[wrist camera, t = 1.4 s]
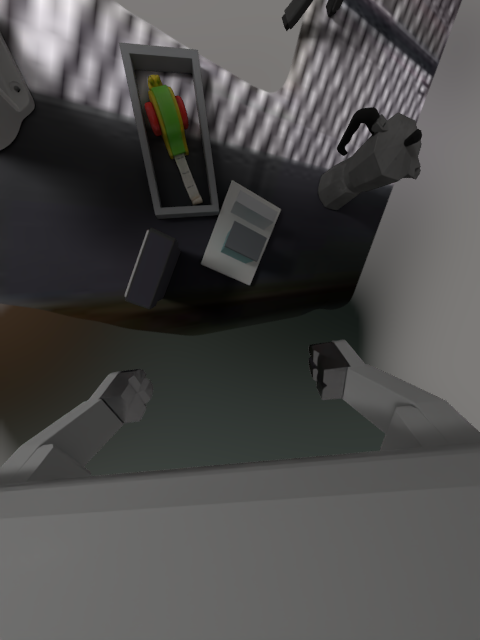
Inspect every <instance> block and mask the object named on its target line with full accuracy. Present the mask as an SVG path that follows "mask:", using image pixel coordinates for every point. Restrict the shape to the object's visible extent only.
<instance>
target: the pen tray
mask: <svg viewBox="0 0 480 640" xmlns="http://www.w3.org/2000/svg"><path fill="white" fill-rule="evenodd" d="M119 44H120V49H121V54H122V59H123V64H124V68H125V73H126V78H127V83H128V87H129V92H130V97H131V102H132V106H133V111H134V116H135V121H136V125H137V130H138V135H139V140H140V145H141V149H142V154H143V159H144V164H145V168H146V173H147V178H148V183H149V187H150V192H151V197H152V202H153V207H154V211H155V215H156V217H157V218H158V219H167V218H182V217H197V216H212V215H218V214H219V205H218V197H217V190H216V182H215V175H214V167H213V160H212V152H211V145H210V138H209V130H208V123H207V115H206V108H205V100H204V93H203V85H202V78H201V70H200V63H199V55H198V50H193V49H182V48H171V47H161V46H150V45H139V44H129V43H119ZM134 70H147V71H161V72H176V73H190V74H192V75H193V82H194V89H195V96H196V103H197V110H198V117H199V124H200V131H201V138H202V145H203V152H204V159H205V166H206V173H207V180H208V187H209V194H210V201H211V205H202V206H184V207H166V208H162V206H161V201H160V196H159V191H158V186H157V181H156V176H155V171H154V166H153V161H152V156H151V151H150V146H149V141H148V136H147V131H146V126H145V121H144V116H143V111H142V106H141V101H140V96H139V91H138V86H137V81H136V76H135V71H134Z"/></svg>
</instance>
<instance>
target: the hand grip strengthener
mask: <svg viewBox="0 0 480 640" xmlns="http://www.w3.org/2000/svg"><path fill="white" fill-rule="evenodd" d="M312 1H313V0H293V1H292V2H291V3H290V4H289V6H288V7H287V8H286V9H285V14H284V15H283V17H282V20H283V23H284V27H285V29H286V31H287V30H288V29H289V28H290V29H292V28H293V26H294V25H295V24H296V23H297V22H298V20H299V19H300V18H301V16H302V15H303V14H304V12H305V11H306V10H307V8H308V7H309V6H310V4H311V3H312ZM342 2H343V0H328V3H327V5H326V9H327V13H328V16H331V15H332V14H334V13H336V11H337V10H338V9H339V8H340V6H341V4H342Z"/></svg>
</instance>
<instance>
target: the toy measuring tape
mask: <svg viewBox="0 0 480 640" xmlns="http://www.w3.org/2000/svg"><path fill="white" fill-rule="evenodd" d="M148 87H149V90H150V91H148V95H149V99H150V102H146V103H145V110H146V113H147V116H148V119H149V122H150V125H151V127H152V130H153V132H154V134H155V135H156V136H161V135H162V138H163V141H164V143H165V146H166V148H167V151H168V154H169V156H170V158H171V159H175V161H176V163H177V166H178V169H179V171H180V173H181V176H182V180H183V182H184V185H185V188H186V190H187V192H188V195H189V197H190V199H191V201H192V204H193V205H197V204H200V203H203V201H202V198H201V196H200V195H199V192H198V189H197V187H196V184H195V182H194V180H193V177H192V174H191V172H190V169H189V167H188V164H187V161H186V159H185V156H186V155H189V152H188V148H187V143H186V139H185V132H184V130H186V129H187V128H188V125H189V124H188V117H187V112H186V109H185V105H184V103H183V100H182V99H181V97H180V96H175V95H174V93H173V90H172V89H171V88H170V87H167V86H166V85H162V82H161V80H160V77H159V75H150V76H148Z"/></svg>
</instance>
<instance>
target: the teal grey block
mask: <svg viewBox="0 0 480 640" xmlns="http://www.w3.org/2000/svg"><path fill="white" fill-rule="evenodd" d="M266 240H267V238H266V237H264V236H263V235H261V234H259V233H257V232H255V231H253V230H251V229H249V228H248V227H246V226H244V225H242V224H240V223H238V222H236V221H234V223H233V225H232V228H231V229H230V231H229V232H228V234H227V236H226V239H225V242H224V244H223V247H222V250H221V252H222V253H224V254H226V255H228V256H230V257H232V258H234V259H237V260H239V261H241V262H243V263H245V264H246V263H249V262H252V261H255V262H257V261H258V259H259V257H260V254H261V252H262V249H263V247H264V244H265V242H266Z"/></svg>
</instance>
